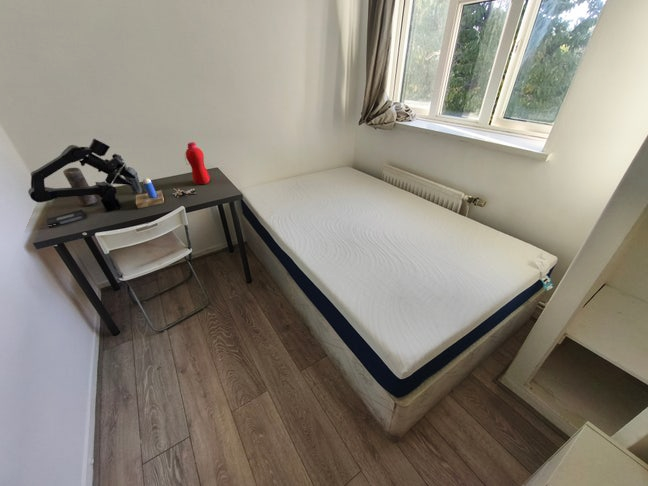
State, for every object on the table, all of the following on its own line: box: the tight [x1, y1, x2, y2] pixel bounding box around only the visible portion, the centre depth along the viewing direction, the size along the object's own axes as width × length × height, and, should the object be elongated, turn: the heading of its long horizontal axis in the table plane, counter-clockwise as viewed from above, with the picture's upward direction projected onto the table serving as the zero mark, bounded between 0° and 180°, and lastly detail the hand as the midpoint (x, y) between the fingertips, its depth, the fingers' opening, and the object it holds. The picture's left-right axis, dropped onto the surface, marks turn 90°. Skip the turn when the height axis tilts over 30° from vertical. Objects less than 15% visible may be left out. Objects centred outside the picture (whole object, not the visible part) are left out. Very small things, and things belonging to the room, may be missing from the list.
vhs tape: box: [46, 209, 85, 229], centre depth 139 cm, size 8×14×2 cm, turn 129°
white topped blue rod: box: [142, 177, 157, 198], centre depth 152 cm, size 4×4×14 cm
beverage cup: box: [122, 158, 143, 195], centre depth 160 cm, size 7×7×20 cm
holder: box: [135, 189, 165, 209], centre depth 155 cm, size 13×12×3 cm
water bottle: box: [184, 141, 211, 186], centre depth 169 cm, size 9×11×25 cm
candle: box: [62, 167, 98, 207], centre depth 148 cm, size 8×7×20 cm
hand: (133, 181), depth 146 cm, fingers open, 9 cm apart
